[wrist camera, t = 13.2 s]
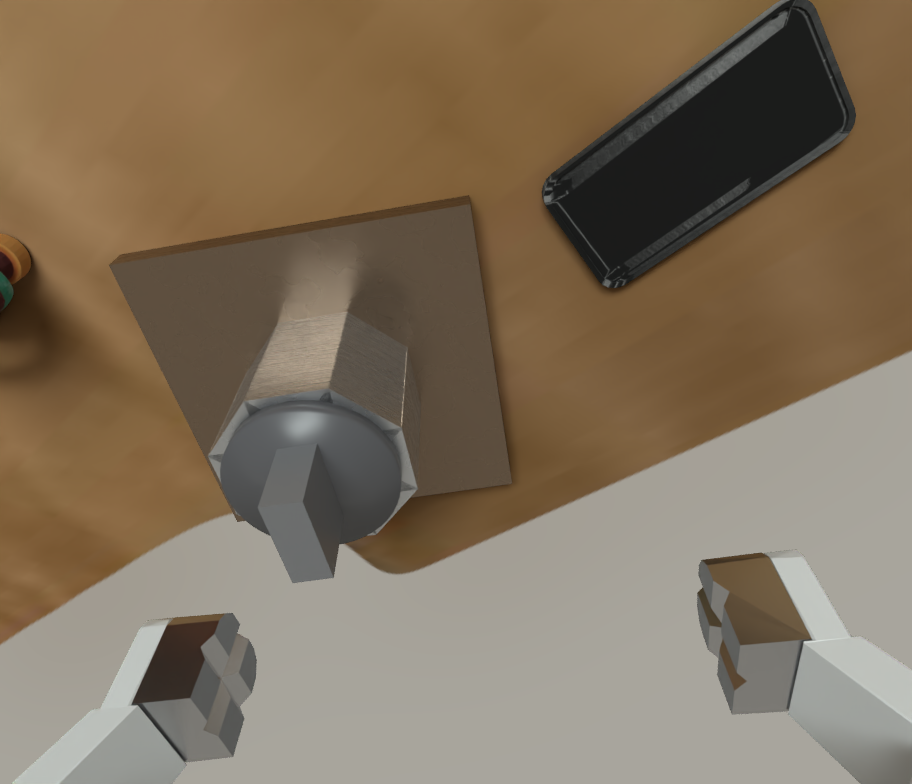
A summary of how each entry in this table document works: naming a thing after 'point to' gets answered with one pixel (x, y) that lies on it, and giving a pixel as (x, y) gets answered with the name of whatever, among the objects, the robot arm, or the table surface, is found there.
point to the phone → (704, 145)
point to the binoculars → (11, 266)
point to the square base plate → (334, 335)
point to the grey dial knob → (311, 480)
